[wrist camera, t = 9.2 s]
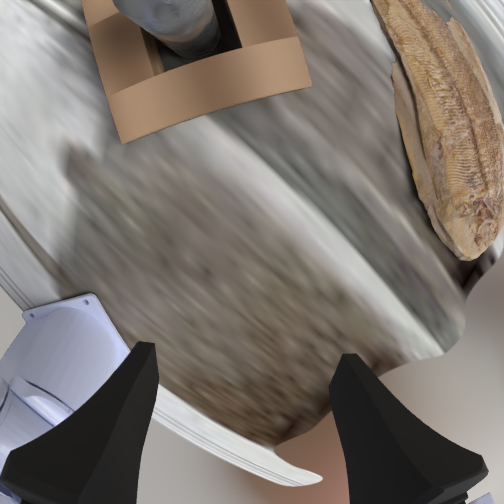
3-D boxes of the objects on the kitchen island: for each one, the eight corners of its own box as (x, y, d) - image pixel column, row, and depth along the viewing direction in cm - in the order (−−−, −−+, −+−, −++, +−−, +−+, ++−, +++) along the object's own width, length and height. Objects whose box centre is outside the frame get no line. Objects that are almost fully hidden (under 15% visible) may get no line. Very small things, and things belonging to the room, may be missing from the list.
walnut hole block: (139, 138, 17) (122, 144, 14) (100, 4, 13) (79, -8, 10) (301, 89, 16) (312, 86, 13) (254, -47, 12) (257, -69, 9)
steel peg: (176, 65, 15) (121, 33, 7) (163, 24, 14) (104, -31, 6) (226, 49, 15) (213, -1, 7) (212, 7, 14) (189, -65, 6)
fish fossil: (297, -38, 12) (301, -45, 11) (406, -58, 11) (413, -63, 10) (447, 274, 22) (454, 280, 21) (517, 216, 21) (525, 220, 20)
